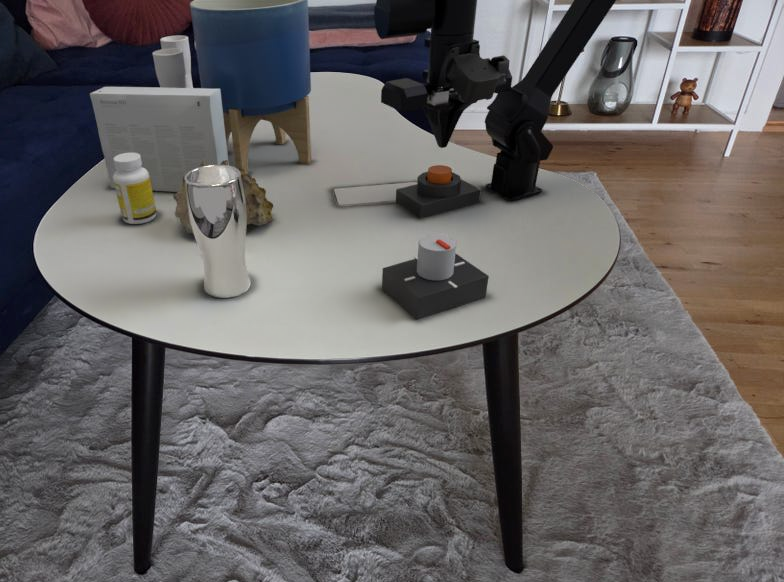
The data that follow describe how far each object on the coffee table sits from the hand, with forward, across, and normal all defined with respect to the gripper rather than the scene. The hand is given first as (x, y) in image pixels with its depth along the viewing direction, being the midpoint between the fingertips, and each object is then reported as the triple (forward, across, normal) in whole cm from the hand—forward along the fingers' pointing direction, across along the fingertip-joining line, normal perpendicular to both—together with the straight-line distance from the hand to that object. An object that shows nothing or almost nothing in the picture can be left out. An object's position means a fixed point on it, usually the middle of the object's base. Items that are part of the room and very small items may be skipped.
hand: (442, 146), depth 95 cm
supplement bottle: (+9, -43, +20) cm, 48 cm away
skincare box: (+9, -35, +30) cm, 47 cm away
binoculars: (+9, -26, +51) cm, 58 cm away
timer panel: (+9, -16, -22) cm, 29 cm away
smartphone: (+9, -6, +8) cm, 13 cm away
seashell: (+9, -32, +10) cm, 35 cm away
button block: (+9, 0, 0) cm, 9 cm away
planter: (+9, -16, +34) cm, 38 cm away
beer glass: (+9, -38, -8) cm, 40 cm away
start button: (+5, 0, 0) cm, 5 cm away
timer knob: (+6, -16, -22) cm, 28 cm away
